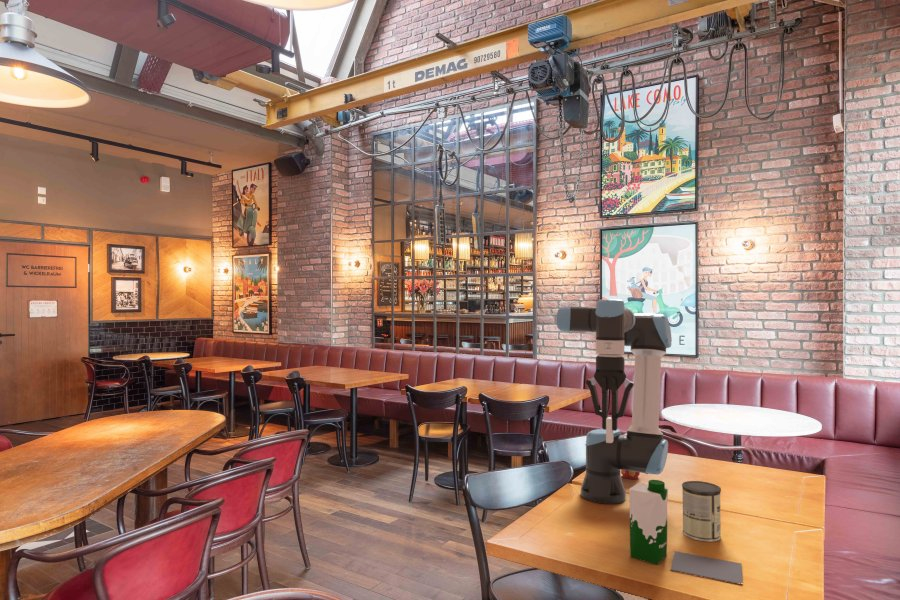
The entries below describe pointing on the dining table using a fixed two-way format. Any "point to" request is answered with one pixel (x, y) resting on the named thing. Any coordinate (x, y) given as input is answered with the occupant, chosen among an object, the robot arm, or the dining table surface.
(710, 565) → the mat
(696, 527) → the coffee can
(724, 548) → the dining table surface
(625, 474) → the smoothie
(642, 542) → the soya milk
